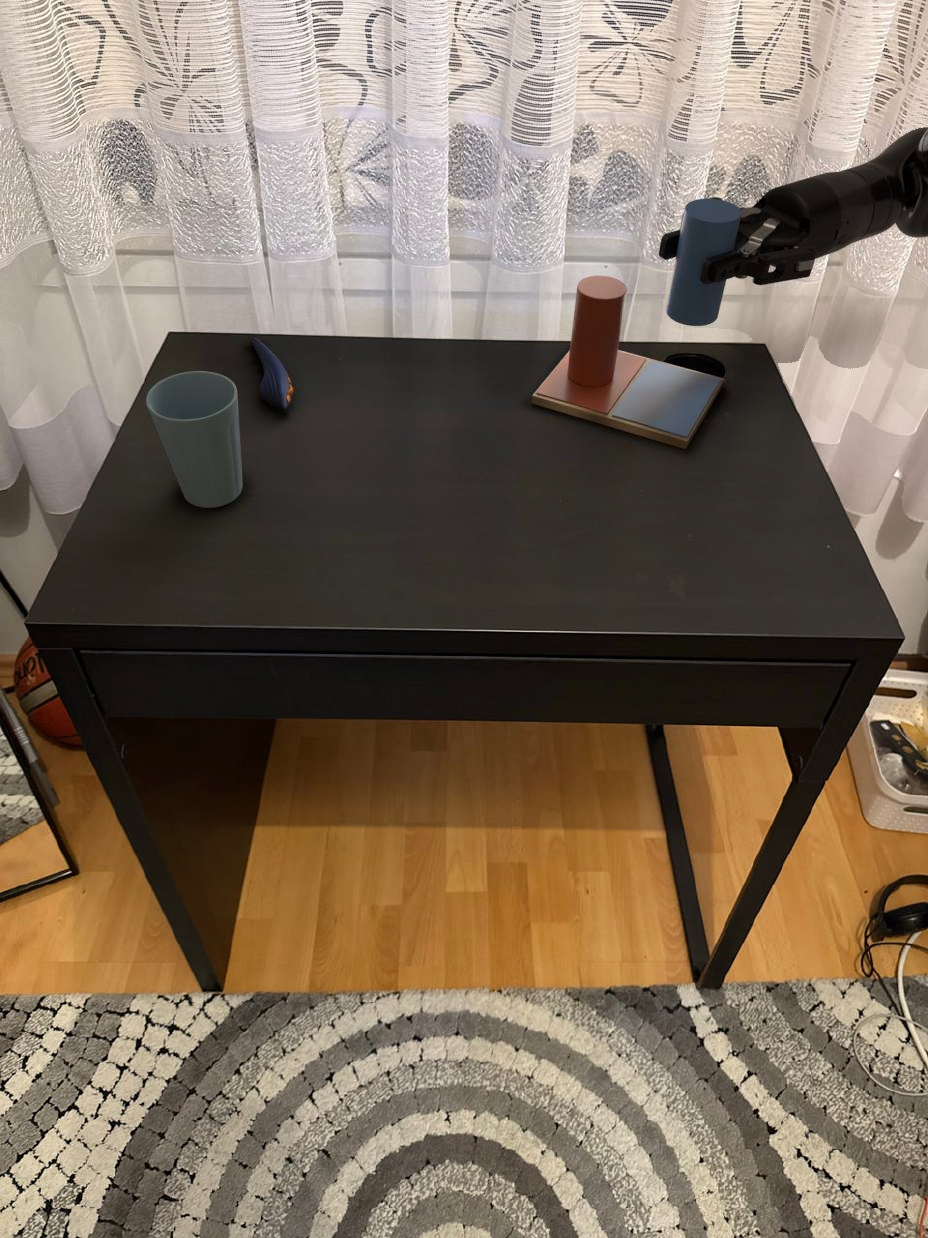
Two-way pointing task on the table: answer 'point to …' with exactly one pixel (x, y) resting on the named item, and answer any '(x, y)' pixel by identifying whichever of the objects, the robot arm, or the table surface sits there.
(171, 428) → the cup
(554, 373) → the board
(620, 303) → the rust canister
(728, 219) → the blue canister
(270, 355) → the tapered navy handle
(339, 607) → the table surface
